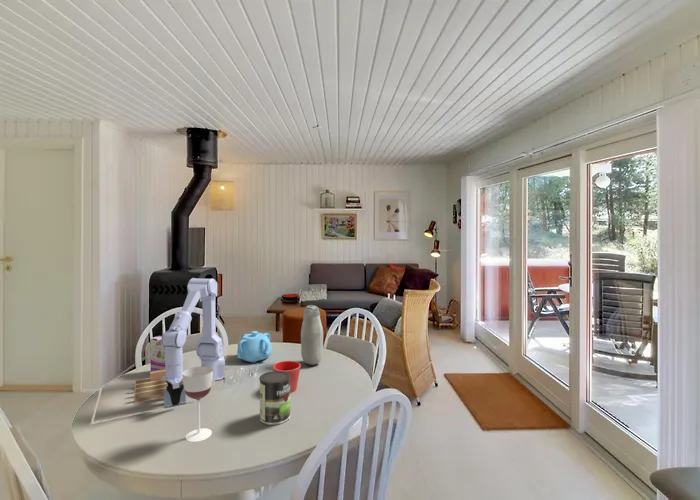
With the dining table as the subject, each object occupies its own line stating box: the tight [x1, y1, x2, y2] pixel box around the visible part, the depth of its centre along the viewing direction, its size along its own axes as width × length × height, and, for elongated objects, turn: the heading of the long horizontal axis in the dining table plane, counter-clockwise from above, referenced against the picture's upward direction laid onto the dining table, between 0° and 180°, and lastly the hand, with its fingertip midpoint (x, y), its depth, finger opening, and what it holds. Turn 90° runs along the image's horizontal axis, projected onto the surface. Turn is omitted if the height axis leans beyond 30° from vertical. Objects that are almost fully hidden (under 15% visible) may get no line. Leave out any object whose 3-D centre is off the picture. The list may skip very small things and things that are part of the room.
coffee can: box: [258, 370, 291, 426], centre depth 123 cm, size 10×10×14 cm
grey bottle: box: [300, 304, 324, 366], centre depth 173 cm, size 10×10×28 cm
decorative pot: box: [236, 330, 273, 364], centre depth 180 cm, size 16×16×14 cm
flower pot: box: [272, 360, 301, 394], centre depth 145 cm, size 11×11×10 cm
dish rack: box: [133, 377, 183, 404], centre depth 142 cm, size 18×16×4 cm
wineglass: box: [182, 366, 213, 443], centre depth 112 cm, size 8×9×20 cm
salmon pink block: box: [149, 369, 166, 382], centre depth 146 cm, size 7×2×6 cm, turn 120°
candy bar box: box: [149, 335, 165, 372], centre depth 159 cm, size 11×5×16 cm, turn 68°
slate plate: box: [163, 388, 187, 409], centre depth 132 cm, size 7×2×6 cm, turn 119°
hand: (174, 400), depth 132 cm, fingers open, 6 cm apart
